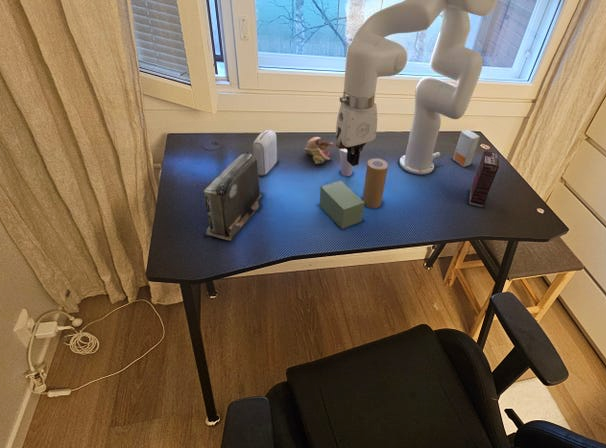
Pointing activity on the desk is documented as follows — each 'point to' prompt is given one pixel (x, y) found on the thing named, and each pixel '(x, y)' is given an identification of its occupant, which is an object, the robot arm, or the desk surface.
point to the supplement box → (484, 178)
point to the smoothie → (345, 163)
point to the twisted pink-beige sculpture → (318, 149)
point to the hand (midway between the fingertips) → (352, 163)
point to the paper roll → (374, 182)
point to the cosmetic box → (466, 147)
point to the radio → (232, 197)
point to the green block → (341, 204)
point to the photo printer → (265, 151)
